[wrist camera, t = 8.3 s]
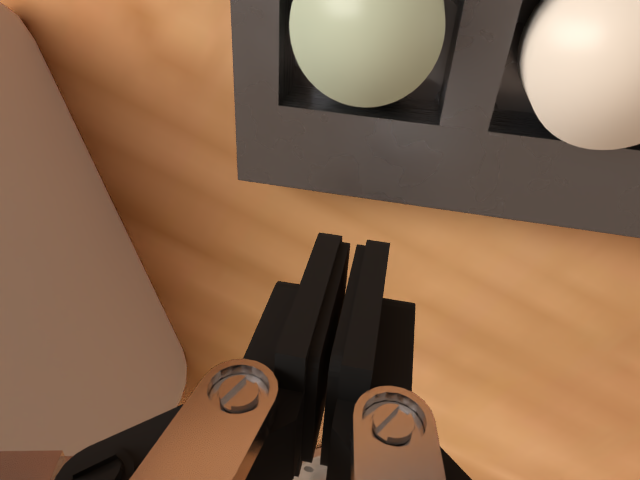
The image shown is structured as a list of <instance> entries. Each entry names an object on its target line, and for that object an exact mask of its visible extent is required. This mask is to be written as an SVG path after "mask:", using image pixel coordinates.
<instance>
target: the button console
mask: <svg viewBox="0 0 640 480" xmlns="http://www.w3.org/2000/svg"><path fill="white" fill-rule="evenodd" d="M230 2H231V26H232V50H233V73H234V97H235V121H236V144H237V168H238V180H242V181H249V182H256V183H263V184H270V185H277V186H284V187H291V188H298V189H305V190H312V191H319V192H325V193H332V194H339V195H346V196H353V197H360V198H367V199H374V200H381V201H388V202H395V203H402V204H409V205H415V206H422V207H429V208H436V209H443V210H450V211H457V212H464V213H471V214H478V215H485V216H492V217H499V218H505V219H512V220H519V221H526V222H533V223H540V224H547V225H554V226H561V227H568V228H575V229H582V230H589V231H595V232H602V233H609V234H616V235H623V236H630V237H637V238H640V144H638V145H634V146H630V147H626V148H621V149H614V150H592V149H586V148H580V147H577V146H574V145H571V144H568V143H566V142H564V141H562V140H560V139H559V138H557V137H556V136H554V135H553V134H552V133H551V132H549V131H548V130H547V129H546V128H545V127H544V125H543V124H542V123H541V122H540V120H539V119H538V117H537V115H536V113H535V112H534V110H533V107H532V105H531V103H530V101H529V99H528V96H527V94H526V92H525V90H524V88H523V85H522V83H521V80H520V77H519V72H518V64H517V54H518V46H519V41H520V37H521V34H522V31H523V28H524V26H525V24H526V22H527V20H528V18H529V16H530V14H531V13H532V11H533V10H534V8H535V7H536V5H537V4H538V3H539V2H540V0H444V7H445V35H444V41H443V45H442V49H441V52H440V55H439V57H438V60H437V62H436V64H435V65H434V67H433V69H432V71H431V72H430V73H429V75H428V76H427V78H426V79H425V80H424V81H423V82H422V83H421V84H420V85H419V86H418V87H417V88H416V89H415V90H414V91H412V92H411V93H410V94H408V95H407V96H405V97H404V98H402V99H399V100H397V101H395V102H393V103H390V104H387V105H383V106H378V107H367V108H366V107H355V106H349V105H346V104H343V103H340V102H337V101H335V100H333V99H331V98H329V97H328V96H326V95H325V94H323V93H322V92H321V91H319V90H318V89H317V88H316V87H315V86H314V85H313V84H312V83H311V82H310V81H309V80H308V79H307V77H306V76H305V74H304V73H303V72H302V70H301V68H300V66H299V65H298V62H297V60H296V58H295V55H294V52H293V49H292V45H291V39H290V30H289V20H290V11H291V6H292V2H293V0H230Z"/></svg>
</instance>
